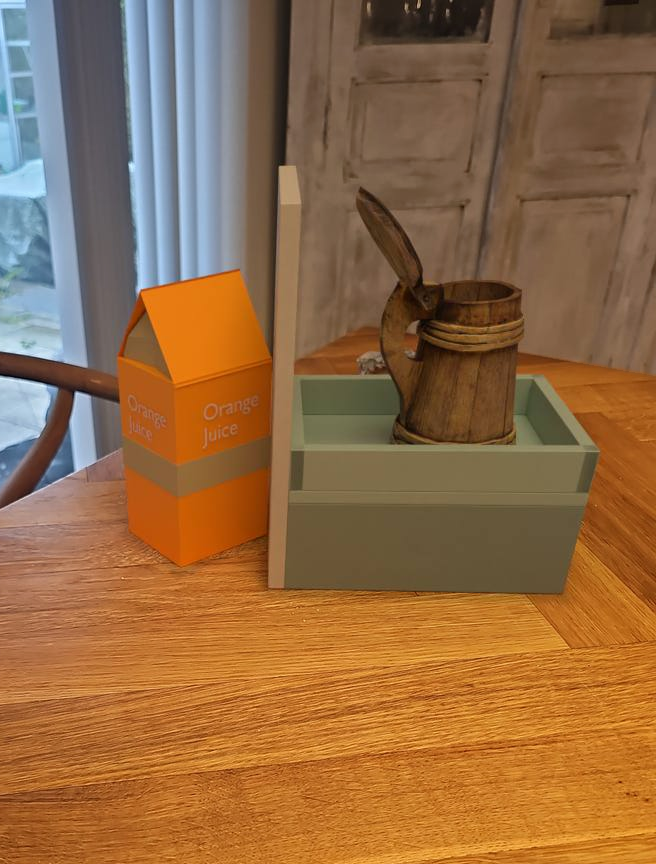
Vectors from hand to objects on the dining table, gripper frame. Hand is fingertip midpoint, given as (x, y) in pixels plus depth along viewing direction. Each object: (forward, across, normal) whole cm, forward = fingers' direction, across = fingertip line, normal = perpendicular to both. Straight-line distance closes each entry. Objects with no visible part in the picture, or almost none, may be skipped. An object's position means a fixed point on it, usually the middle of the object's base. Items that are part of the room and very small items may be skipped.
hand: (649, 4), depth 71 cm
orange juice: (+34, +26, -37) cm, 56 cm away
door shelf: (+34, +27, -20) cm, 48 cm away
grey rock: (+34, -8, -15) cm, 38 cm away
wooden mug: (+26, +28, -20) cm, 43 cm away
